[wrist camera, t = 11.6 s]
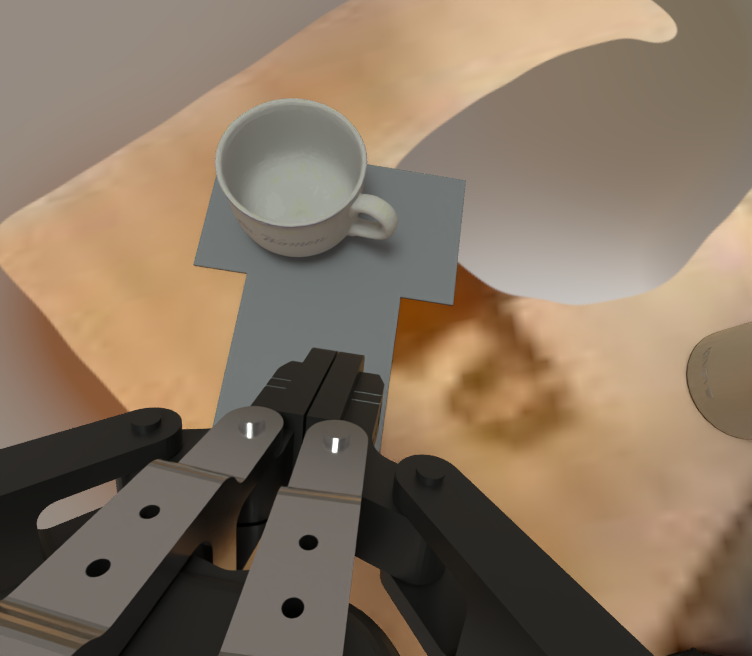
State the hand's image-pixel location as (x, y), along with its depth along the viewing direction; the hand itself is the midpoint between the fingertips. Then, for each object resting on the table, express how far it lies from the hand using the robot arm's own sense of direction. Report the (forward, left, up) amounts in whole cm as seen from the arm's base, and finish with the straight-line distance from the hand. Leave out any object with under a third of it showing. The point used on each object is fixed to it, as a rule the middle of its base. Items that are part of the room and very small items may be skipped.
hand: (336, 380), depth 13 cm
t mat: (+3, -10, -24) cm, 27 cm away
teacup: (+5, -16, -24) cm, 30 cm away
